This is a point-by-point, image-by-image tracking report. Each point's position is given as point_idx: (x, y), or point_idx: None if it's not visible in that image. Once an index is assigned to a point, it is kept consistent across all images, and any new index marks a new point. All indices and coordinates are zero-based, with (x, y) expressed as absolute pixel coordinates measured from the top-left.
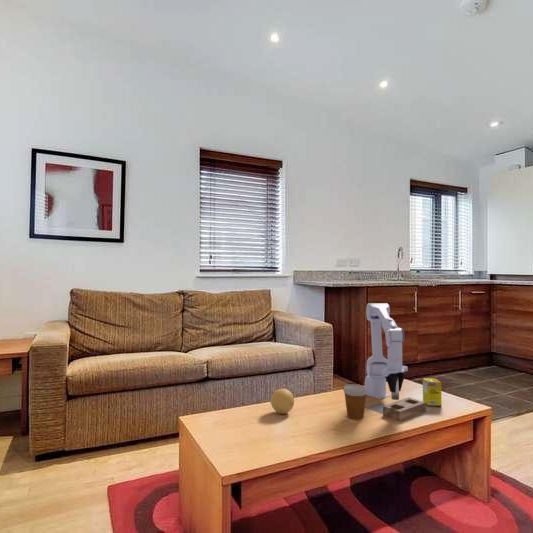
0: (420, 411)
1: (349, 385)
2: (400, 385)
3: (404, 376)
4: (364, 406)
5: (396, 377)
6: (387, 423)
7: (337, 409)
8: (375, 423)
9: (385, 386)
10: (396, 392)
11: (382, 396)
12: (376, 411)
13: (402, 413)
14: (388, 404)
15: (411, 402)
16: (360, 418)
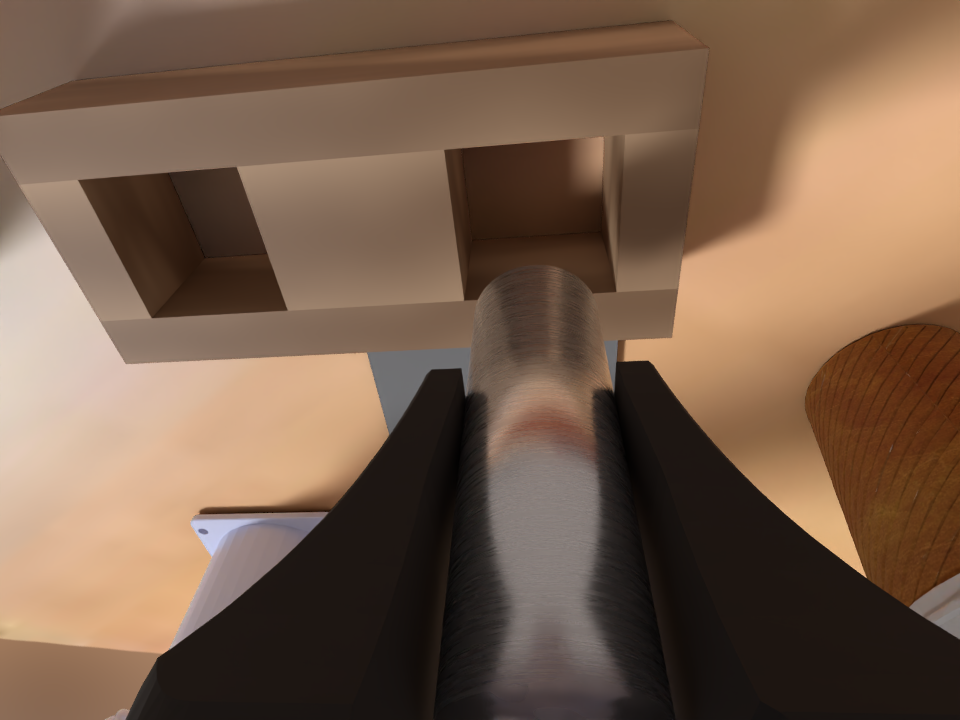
0: (177, 77)
1: None
2: (440, 444)
3: (264, 647)
4: (947, 409)
5: (957, 715)
6: (837, 90)
7: (812, 536)
8: (937, 173)
9: (207, 604)
10: (582, 354)
11: (282, 528)
12: (612, 369)
13: (634, 46)
14: None
15: (160, 279)
16: (937, 331)
